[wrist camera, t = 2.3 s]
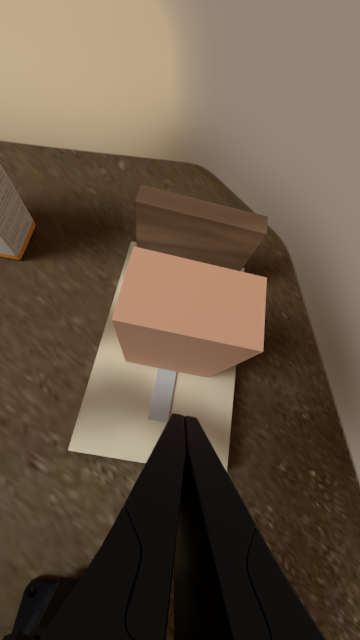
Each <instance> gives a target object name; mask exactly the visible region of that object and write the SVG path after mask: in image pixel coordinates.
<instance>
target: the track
mask: <svg viewBox="0 0 360 640" xmlns="http://www.w3.org/2000/svg"><path fill="white" fill-rule="evenodd" d="M135 209H136V240H137V243H136V242H131V244H130V247H129V250H128V254H127V257H126V260H125V263H124V267H123V270H122V273H121V277H120V280H119V283H118V287H117V290H116V293H115V297H114V300H113V303H112V306H111V310H110V313H109V316H108V320H107V323H106V326H105V330H104V333H103V336H102V339H101V343H100V346H99V349H98V353H97V356H96V359H95V363H94V366H93V369H92V372H91V376H90V379H89V382H88V386H87V389H86V392H85V396H84V399H83V402H82V405H81V409H80V412H79V415H78V419H77V422H76V425H75V429H74V432H73V435H72V439H71V442H70V445H69V448H68V450H69V451H75V452H81V453H87V454H93V455H99V456H105V457H111V458H117V459H123V460H129V461H134V462H140V463H146V462H147V460H148V458H149V456H150V454H151V452H152V451H153V449H154V447H155V445H156V443H157V441H158V439H159V437H160V435H161V433H162V431H163V430H164V428H165V426H166V424H167V422H168V420H169V418H170V416H171V414H172V413H176V414H181V415H183V416H186V415H187V416H192V417H196V418H197V419H198V421H199V423H200V425H201V426H202V428H203V430H204V432H205V434H206V435H207V437H208V439H209V441H210V443H211V444H212V446H213V448H214V450H215V452H216V454H217V455H218V457H219V459H220V461H221V463H222V464H223V466H224V468H225V470H226V472H227V466H228V454H229V443H230V431H231V420H232V408H233V396H234V385H235V373H236V365H234V366H232V367H230V368H228V369H226V370H224V371H222V372H220V373H218V374H215V375H213V376H211V377H209V378H206V377H201V376H196V375H191V374H186V373H181V372H176V371H171V370H166V369H161V368H156V367H150V366H145V365H140V364H135V363H130V362H126V361H125V358H124V355H123V352H122V349H121V346H120V343H119V340H118V337H117V334H116V331H115V328H114V325H113V322H112V317H113V314H114V310H115V307H116V304H117V300H118V297H119V293H120V290H121V287H122V283H123V280H124V277H125V273H126V270H127V266H128V263H129V260H130V256H131V253H132V249H133V246H135V247H139V248H143V249H147V250H152V251H156V252H160V253H164V254H169V255H173V256H177V257H181V258H186V259H190V260H194V261H198V262H203V263H207V264H211V265H215V266H220V267H224V268H228V269H232V270H237V271H241V272H244V269H245V268H243V267H244V265H245V264H246V262H247V261H248V260H249V258H250V257H251V255H252V254H253V253H254V251H255V250H256V248H257V247H258V246H259V244H260V243H261V241H262V240H263V239H264V237H265V236H266V234H267V219H268V217H266V216H262V215H258V214H255V213H251V212H247V211H243V210H239V209H235V208H231V207H227V206H223V205H219V204H215V203H212V202H208V201H204V200H200V199H196V198H192V197H188V196H184V195H180V194H176V193H172V192H168V191H165V190H161V189H157V188H153V187H149V186H145V185H140V188H139V191H138V194H137V197H136V200H135Z"/></svg>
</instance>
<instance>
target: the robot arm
mask: <svg viewBox="0 0 360 640" xmlns="http://www.w3.org/2000/svg"><path fill="white" fill-rule="evenodd" d="M255 527H256V524H255V522H254V521H253V519H252V517H251V515H250V513H249V512H248V510H247V508H246V506H245V504H244V502H243V501H242V499H241V497H240V495H239V493H238V492H237V490H236V488H235V486H234V484H233V483H232V481H231V479H230V477H229V475H228V473H227V472H226V470H225V468H224V466H223V464H222V463H221V461H220V459H219V457H218V455H217V454H216V452H215V450H214V448H213V446H212V444H211V443H210V441H209V439H208V437H207V435H206V434H205V432H204V430H203V428H202V426H201V425H200V423H199V421H198V419H197V418H196V417H192V416H187V415H186V416H183V415H181V414H176V413H172V414H171V416H170V418H169V420H168V422H167V424H166V426H165V428H164V430H163V431H162V433H161V435H160V437H159V439H158V441H157V443H156V445H155V447H154V449H153V451H152V452H151V454H150V456H149V458H148V460H147V462H146V464H145V466H144V468H143V470H142V472H141V473H140V475H139V477H138V479H137V481H136V483H135V485H134V487H133V489H132V491H131V493H130V494H129V496H128V498H127V500H126V502H125V504H124V507H123V508H122V509H121V511H120V513H119V515H118V517H117V519H116V521H115V523H114V525H113V526H112V528H111V530H110V532H109V533H108V535H107V537H106V539H105V541H104V542H103V544H102V546H101V548H100V549H99V551H98V552H97V554H96V555H95V557H94V559H93V560H92V562H91V563H90V565H89V567H88V568H87V570H86V571H85V573H84V574H83V576H82V577H81V579H80V580H75V579H67V578H61V579H60V580H59V581H56V580H48V579H40V578H35V579H33V580H31V582H30V583H29V584H28V586H27V587H26V589H25V591H24V594H23V598H22V601H21V604H20V607H19V611H18V614H17V617H16V621H15V624H14V627H13V630H12V633H11V634H9V635H6V636H4V638H3V640H165V638H166V629H167V620H168V611H169V602H170V593H171V584H172V575H173V566H174V637H175V640H326V639H325V637H324V636H323V634H322V633H321V631H320V630H319V628H318V626H317V625H316V623H315V622H314V620H313V619H312V617H311V616H310V614H309V613H308V611H307V610H306V608H305V606H304V605H303V603H302V602H301V600H300V599H299V597H298V596H297V594H296V592H295V591H294V589H293V588H292V586H291V584H290V583H289V581H288V580H287V578H286V576H285V575H284V573H283V572H282V570H281V568H280V566H279V565H278V563H277V561H276V560H275V558H274V556H273V554H272V553H271V551H270V549H269V547H268V546H267V544H266V542H265V540H264V539H263V537H262V535H261V533H260V531H259V529H258V528H255ZM32 587H35V588H36V590H37V592H36V593H32V592H31V588H32Z"/></svg>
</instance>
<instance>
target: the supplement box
mask: <svg viewBox="0 0 360 640" xmlns="http://www.w3.org/2000/svg"><path fill="white" fill-rule="evenodd" d="M35 226H36V224H35V222H34V220H33V218H32V217H31V215H30V213H29V212H28V210H27V208H26V206H25V205H24V203H23V201H22V200H21V198H20V196H19V195H18V193H17V191H16V190H15V188H14V186H13V184H12V183H11V181H10V179H9V177H8V176H7V174H6V172H5V171H4V169H3V167H2V166H1V164H0V257H5V258H11V259H17V260H21V259H22V256H23V254H24V252H25V250H26V247H27V245H28V243H29V240H30V238H31V236H32V233H33V231H34V229H35Z"/></svg>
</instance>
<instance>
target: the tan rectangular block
mask: <svg viewBox="0 0 360 640" xmlns="http://www.w3.org/2000/svg"><path fill="white" fill-rule="evenodd" d="M266 284H267V278H266V277H262V276H258V275H254V274H249V273H245V272H241V271H237V270H232V269H228V268H224V267H220V266H215V265H211V264H207V263H203V262H198V261H194V260H190V259H186V258H181V257H177V256H173V255H169V254H164V253H160V252H156V251H152V250H147V249H143V248H139V247H135V246H133V249H132V253H131V256H130V260H129V263H128V266H127V270H126V273H125V277H124V280H123V283H122V287H121V290H120V293H119V297H118V300H117V304H116V307H115V310H114V314H113V317H112V322H113V325H114V328H115V331H116V334H117V337H118V340H119V343H120V346H121V349H122V352H123V355H124V358H125V361H126V362H130V363H135V364H140V365H145V366H150V367H156V368H161V369H166V370H171V371H176V372H181V373H186V374H191V375H196V376H201V377H206V378H209V377H211V376H213V375H215V374H218V373H220V372H222V371H224V370H226V369H228V368H230V367H232V366H234V365H237V364H239V363H241V362H243V361H245V360H247V359H249V358H251V357H253V356H256V355H258V354H260V353H262V352H263V349H264V327H265V305H266Z"/></svg>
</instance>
